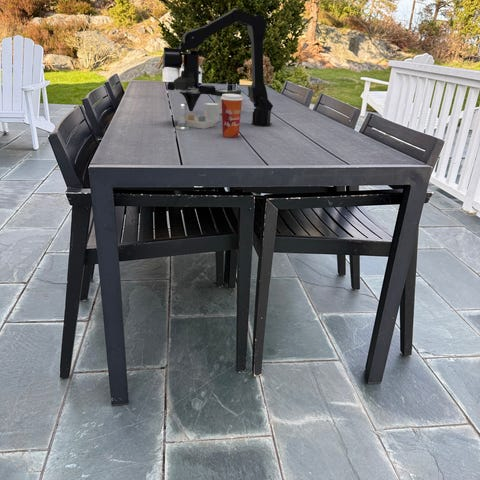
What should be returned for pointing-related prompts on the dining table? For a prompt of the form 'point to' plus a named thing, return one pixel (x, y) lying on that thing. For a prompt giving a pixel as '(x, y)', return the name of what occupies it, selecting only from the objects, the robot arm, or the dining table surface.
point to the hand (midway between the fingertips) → (191, 111)
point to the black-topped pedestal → (225, 91)
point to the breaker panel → (199, 122)
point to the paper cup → (231, 114)
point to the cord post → (182, 117)
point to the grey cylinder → (212, 111)
